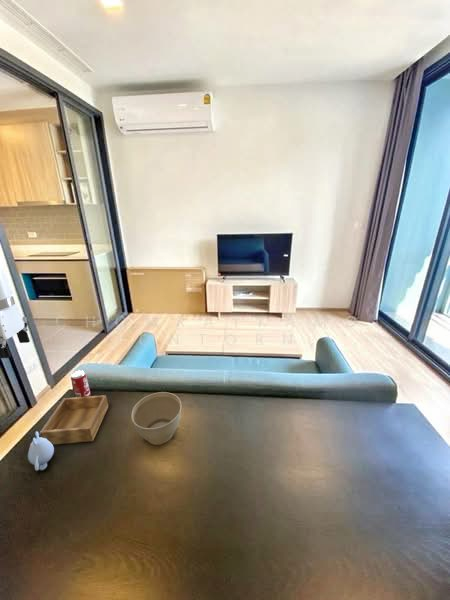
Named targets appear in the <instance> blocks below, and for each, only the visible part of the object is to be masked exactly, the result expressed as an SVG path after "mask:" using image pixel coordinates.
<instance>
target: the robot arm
mask: <svg viewBox="0 0 450 600" xmlns="http://www.w3.org/2000/svg"><path fill="white" fill-rule="evenodd" d="M15 335H16V336H17V339H18V342H19V343H20V344H26V343H27V344H28V343H30V342H31V340H30V337H29V334H28V317H27V316H23V315H22V313H21V311H20V309H19V307H18V305H17V304H16V302H15V299H14V295H13V293H12V289H11V286H10V283H9V280H8V277H7V274H6V271H5V268H4V267H3V265H2V264H0V342H1V343H0V359H10V358H11V357H12V355H11V352H10V350H9V349H10V348H9V347H8V346H7V340H9V339H10V338H12V337H13V336H15Z"/></svg>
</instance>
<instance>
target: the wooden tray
mask: <svg viewBox="0 0 450 600" xmlns="http://www.w3.org/2000/svg"><path fill="white" fill-rule="evenodd" d="M108 409H109V402H108V398H107V395H106V394H103V395H91V396H88V397H76V396H75V397H64V398H62V400H61V401H60V403H59V404H58V406H57V407H56V409H55V410H54V412H53V413H52V415H50V417H49V419H48V420H47V422H46V423H45V424H44V425H43V427H42V428H41V430H40V431H39V436H40V437H42V438H46V439H47V440H48V441H49V442H51V444H52V445H53V446H54V445H62V444H74V443H84V442H93V441H94V439H95V437H96V435H97V434H98V431H99V429H100V427H101V424H102V422H103V420H104V418H105V415H106V413H107V411H108Z"/></svg>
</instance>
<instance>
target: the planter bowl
mask: <svg viewBox="0 0 450 600" xmlns="http://www.w3.org/2000/svg"><path fill="white" fill-rule="evenodd" d="M130 416H131V421H132V424H133V426H134V428H135V430H136V432H137V434H138V435H139V436H140V437H141V438H142V439H144V440H145V441H147V442H148V443H149V444H152V445H157V446H158V445H162V444H163V445H164V444H165V443H167V442H168V441H170V440H171V438H173V436H174V434H175V432H176V431H177V429H178V427H179V424H180V421H181V417H182V401H181V399H180V398H179V397H178V396H177V395H176V394H174V393H171V392H167V391H159V392H155V393H151V394H148V395H145V396H144V397H143V398H141V399H140V400H139V401H137V403H136V404H135V405H134V406H133V407H132V411H131V415H130Z"/></svg>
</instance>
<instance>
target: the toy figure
mask: <svg viewBox="0 0 450 600" xmlns="http://www.w3.org/2000/svg"><path fill="white" fill-rule="evenodd" d="M34 435H35V437H33V438H32V442H30V444H29V448H28V452H27V461H28V462H29V463H30V464H31V465H33V466H34V470H35V471H36V472H37V471H39V470H40V471H44V470H46V468H47V467H48V462H49V461H50V460H51V459H52V457H53V456H54V453H55V447H54V444H53V445H52V444H51V442H49V441H48V440H47V439H46V438H42V437H41V436H40V432H39V431H35V433H34Z"/></svg>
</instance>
